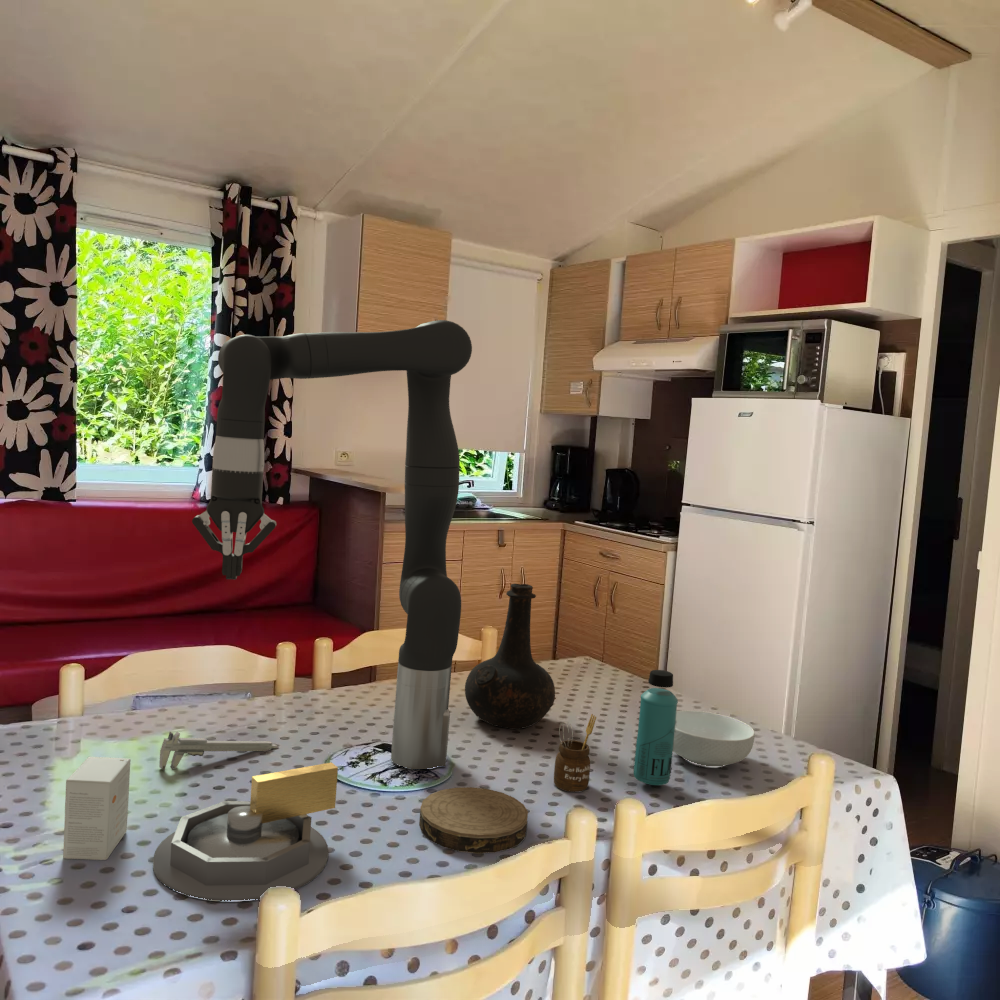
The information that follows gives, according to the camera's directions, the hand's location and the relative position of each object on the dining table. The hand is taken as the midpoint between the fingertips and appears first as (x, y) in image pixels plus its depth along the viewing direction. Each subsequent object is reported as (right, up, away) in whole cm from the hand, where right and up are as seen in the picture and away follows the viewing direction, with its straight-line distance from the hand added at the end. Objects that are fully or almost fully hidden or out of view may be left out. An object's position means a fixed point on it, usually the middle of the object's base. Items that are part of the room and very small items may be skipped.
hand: (231, 578), depth 138 cm
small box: (-12, -33, -21) cm, 41 cm away
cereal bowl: (+80, -37, +29) cm, 92 cm away
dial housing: (+8, -35, -21) cm, 41 cm away
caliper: (-5, -31, +11) cm, 34 cm away
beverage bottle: (+67, -37, +14) cm, 78 cm away
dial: (+10, -34, -20) cm, 40 cm away
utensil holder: (+54, -36, +12) cm, 65 cm away
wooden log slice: (+38, -37, -7) cm, 53 cm away
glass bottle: (+43, -33, +41) cm, 68 cm away
